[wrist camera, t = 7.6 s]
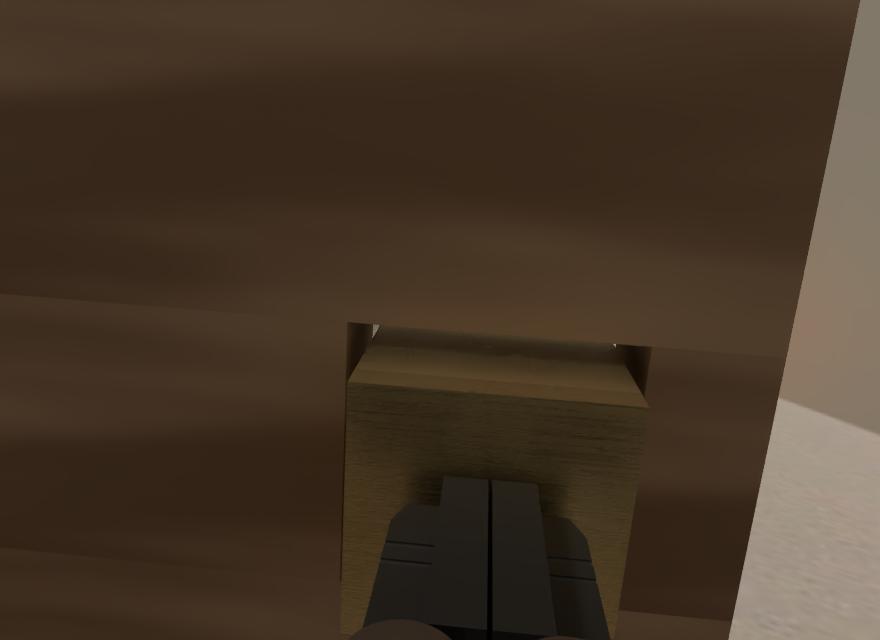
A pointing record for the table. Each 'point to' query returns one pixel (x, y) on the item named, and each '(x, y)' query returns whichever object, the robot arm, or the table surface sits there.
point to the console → (379, 274)
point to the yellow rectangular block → (489, 440)
